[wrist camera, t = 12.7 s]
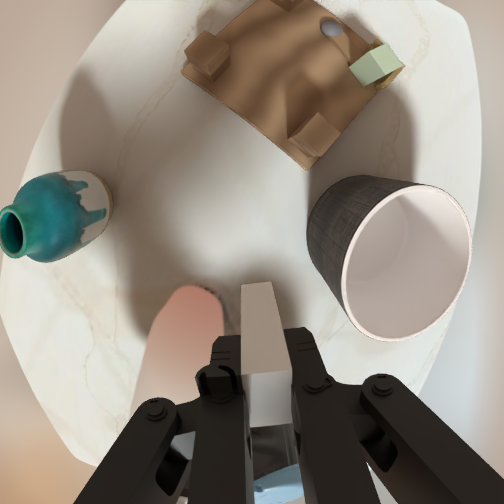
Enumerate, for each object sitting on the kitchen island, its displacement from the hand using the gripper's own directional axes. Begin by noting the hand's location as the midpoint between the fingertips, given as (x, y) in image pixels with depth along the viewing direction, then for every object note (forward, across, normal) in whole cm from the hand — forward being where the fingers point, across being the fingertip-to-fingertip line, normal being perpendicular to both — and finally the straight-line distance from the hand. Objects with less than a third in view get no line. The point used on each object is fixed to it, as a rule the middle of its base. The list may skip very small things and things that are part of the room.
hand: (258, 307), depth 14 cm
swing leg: (+24, +16, +23) cm, 37 cm away
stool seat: (+26, +8, +21) cm, 35 cm away
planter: (+27, +17, -4) cm, 32 cm away
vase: (+27, -23, +5) cm, 36 cm away
